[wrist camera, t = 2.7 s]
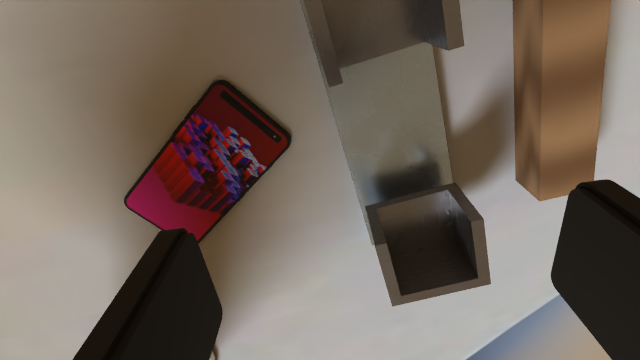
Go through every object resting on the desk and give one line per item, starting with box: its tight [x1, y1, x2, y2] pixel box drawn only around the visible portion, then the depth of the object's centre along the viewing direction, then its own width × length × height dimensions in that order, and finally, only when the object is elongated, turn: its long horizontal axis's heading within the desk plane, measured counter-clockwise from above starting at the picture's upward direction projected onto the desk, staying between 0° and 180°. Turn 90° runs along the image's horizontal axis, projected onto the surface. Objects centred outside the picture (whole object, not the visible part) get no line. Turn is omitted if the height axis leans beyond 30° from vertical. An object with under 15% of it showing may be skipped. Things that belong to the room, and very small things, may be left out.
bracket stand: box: [300, 0, 491, 306], centre depth 24 cm, size 23×8×8 cm, turn 17°
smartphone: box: [124, 80, 291, 243], centre depth 30 cm, size 8×1×15 cm
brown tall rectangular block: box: [513, 0, 611, 201], centre depth 25 cm, size 18×4×4 cm, turn 15°
